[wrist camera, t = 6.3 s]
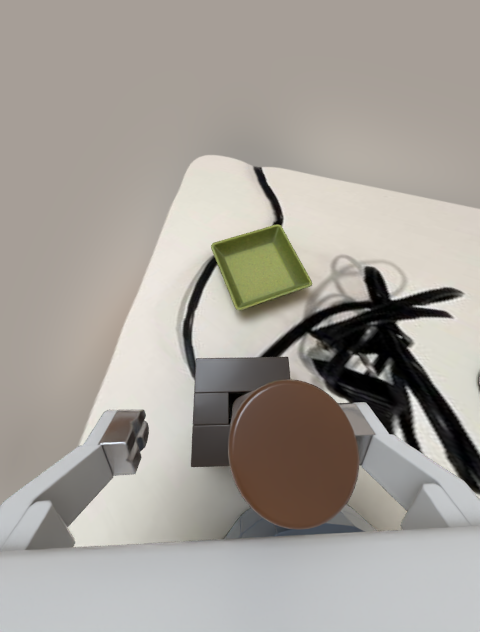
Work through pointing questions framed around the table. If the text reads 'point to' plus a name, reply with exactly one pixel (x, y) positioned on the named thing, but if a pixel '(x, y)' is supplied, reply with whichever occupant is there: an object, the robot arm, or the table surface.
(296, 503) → the stick
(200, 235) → the table surface
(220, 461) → the holder
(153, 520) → the table surface
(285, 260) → the saucer
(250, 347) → the table surface
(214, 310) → the table surface
